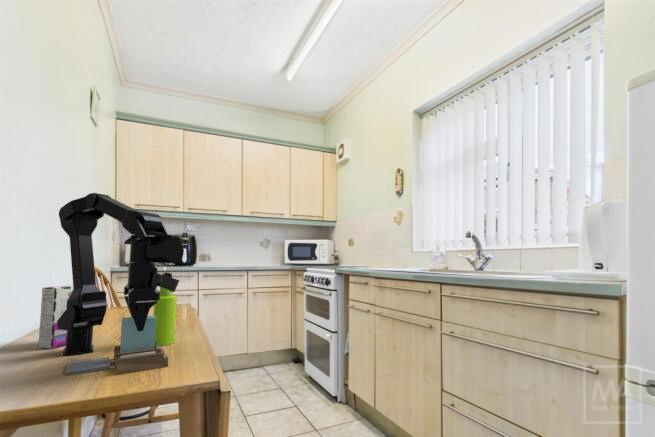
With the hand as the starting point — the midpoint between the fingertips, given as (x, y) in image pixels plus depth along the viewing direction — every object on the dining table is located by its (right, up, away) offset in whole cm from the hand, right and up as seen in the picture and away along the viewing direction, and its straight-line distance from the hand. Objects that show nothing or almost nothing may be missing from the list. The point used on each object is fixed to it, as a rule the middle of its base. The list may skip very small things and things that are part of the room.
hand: (138, 327), depth 84 cm
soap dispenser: (-1, -10, +16) cm, 19 cm away
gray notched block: (+4, -7, -6) cm, 10 cm away
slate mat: (-8, -7, -6) cm, 12 cm away
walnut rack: (+1, -7, -3) cm, 8 cm away
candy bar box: (-29, -9, +14) cm, 34 cm away
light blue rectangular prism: (0, -8, -1) cm, 8 cm away
